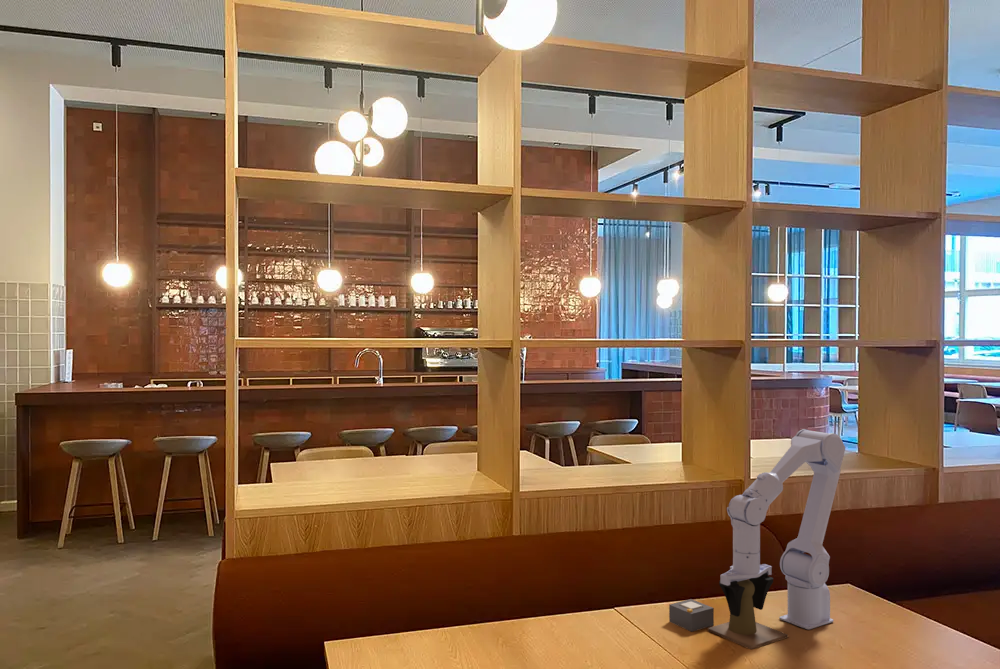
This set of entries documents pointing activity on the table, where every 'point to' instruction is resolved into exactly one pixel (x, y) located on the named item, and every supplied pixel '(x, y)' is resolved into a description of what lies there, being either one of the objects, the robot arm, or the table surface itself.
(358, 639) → the table surface
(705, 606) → the switch box
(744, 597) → the olive green pawn
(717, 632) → the coaster
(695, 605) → the button
